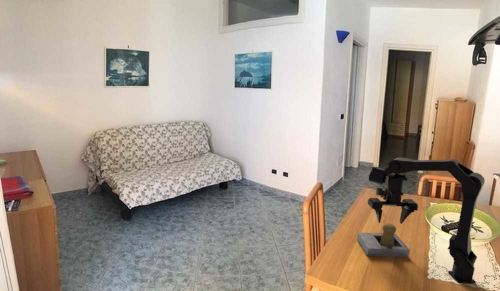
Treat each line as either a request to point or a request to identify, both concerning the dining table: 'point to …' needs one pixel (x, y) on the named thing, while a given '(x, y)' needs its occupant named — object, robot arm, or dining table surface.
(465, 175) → the robot arm
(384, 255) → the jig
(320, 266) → the dining table surface
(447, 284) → the dining table surface
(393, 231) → the olive pawn
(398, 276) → the dining table surface
